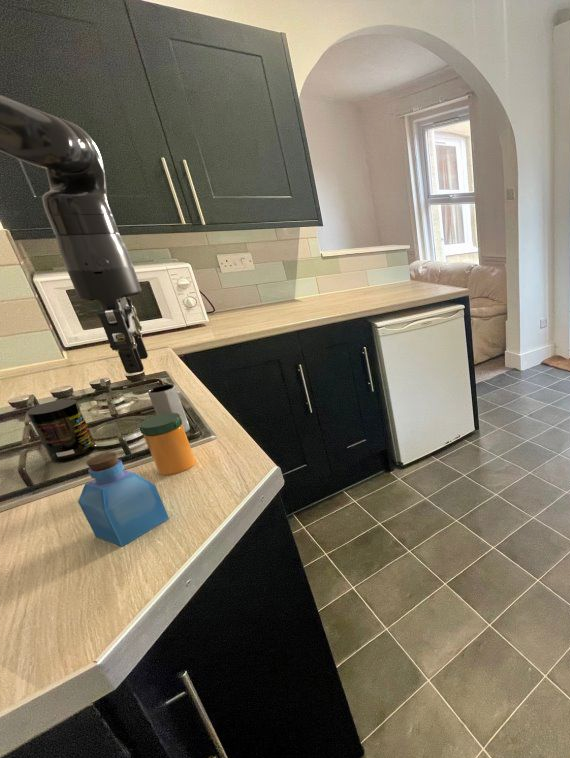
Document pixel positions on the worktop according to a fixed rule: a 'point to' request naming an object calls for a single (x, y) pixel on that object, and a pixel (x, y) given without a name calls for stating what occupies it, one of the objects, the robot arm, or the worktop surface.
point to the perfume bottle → (119, 501)
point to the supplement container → (62, 430)
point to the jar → (171, 451)
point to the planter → (167, 402)
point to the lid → (160, 424)
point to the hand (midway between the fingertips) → (138, 365)
